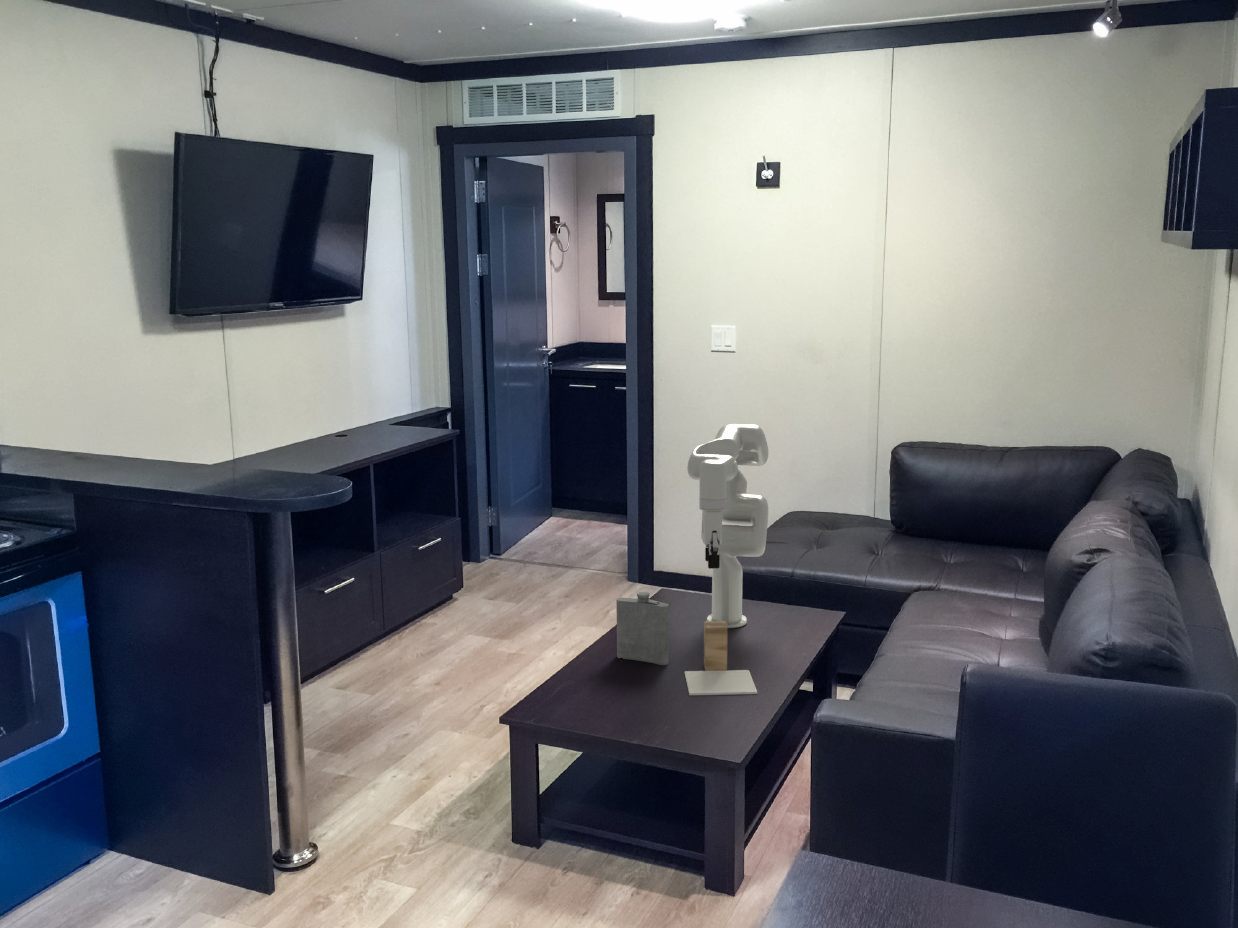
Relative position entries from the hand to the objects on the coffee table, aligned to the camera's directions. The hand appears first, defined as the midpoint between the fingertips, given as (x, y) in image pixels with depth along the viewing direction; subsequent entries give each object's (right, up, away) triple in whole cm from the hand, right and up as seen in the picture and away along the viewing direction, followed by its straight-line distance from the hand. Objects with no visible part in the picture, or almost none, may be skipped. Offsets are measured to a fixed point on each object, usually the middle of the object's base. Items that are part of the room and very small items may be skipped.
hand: (712, 563), depth 302 cm
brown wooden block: (0, -29, -4) cm, 29 cm away
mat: (+1, -31, -15) cm, 34 cm away
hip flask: (-20, -28, +3) cm, 34 cm away
